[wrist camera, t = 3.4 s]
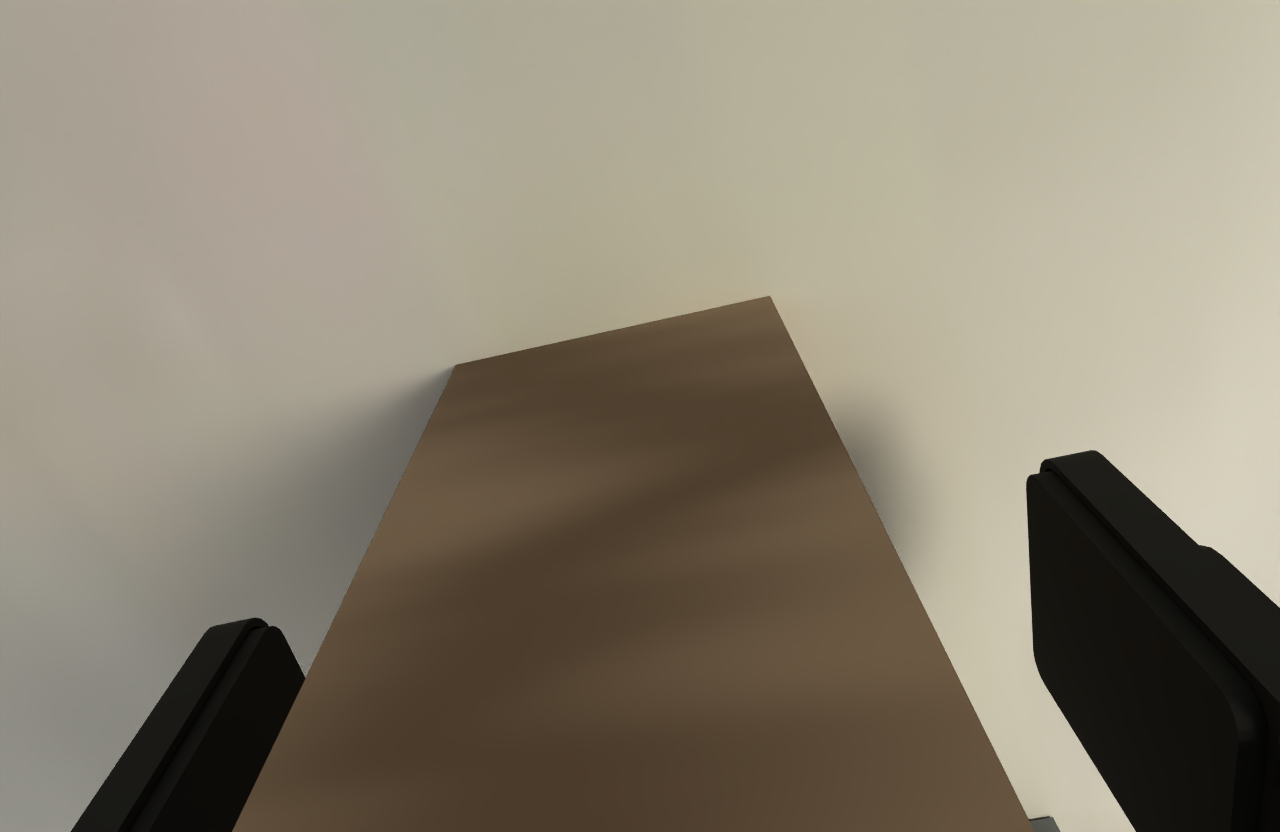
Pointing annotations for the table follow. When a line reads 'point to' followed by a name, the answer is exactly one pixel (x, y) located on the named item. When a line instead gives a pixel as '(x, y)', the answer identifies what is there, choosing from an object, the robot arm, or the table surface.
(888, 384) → the table surface
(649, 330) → the walnut block
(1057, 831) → the bin
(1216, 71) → the table surface
